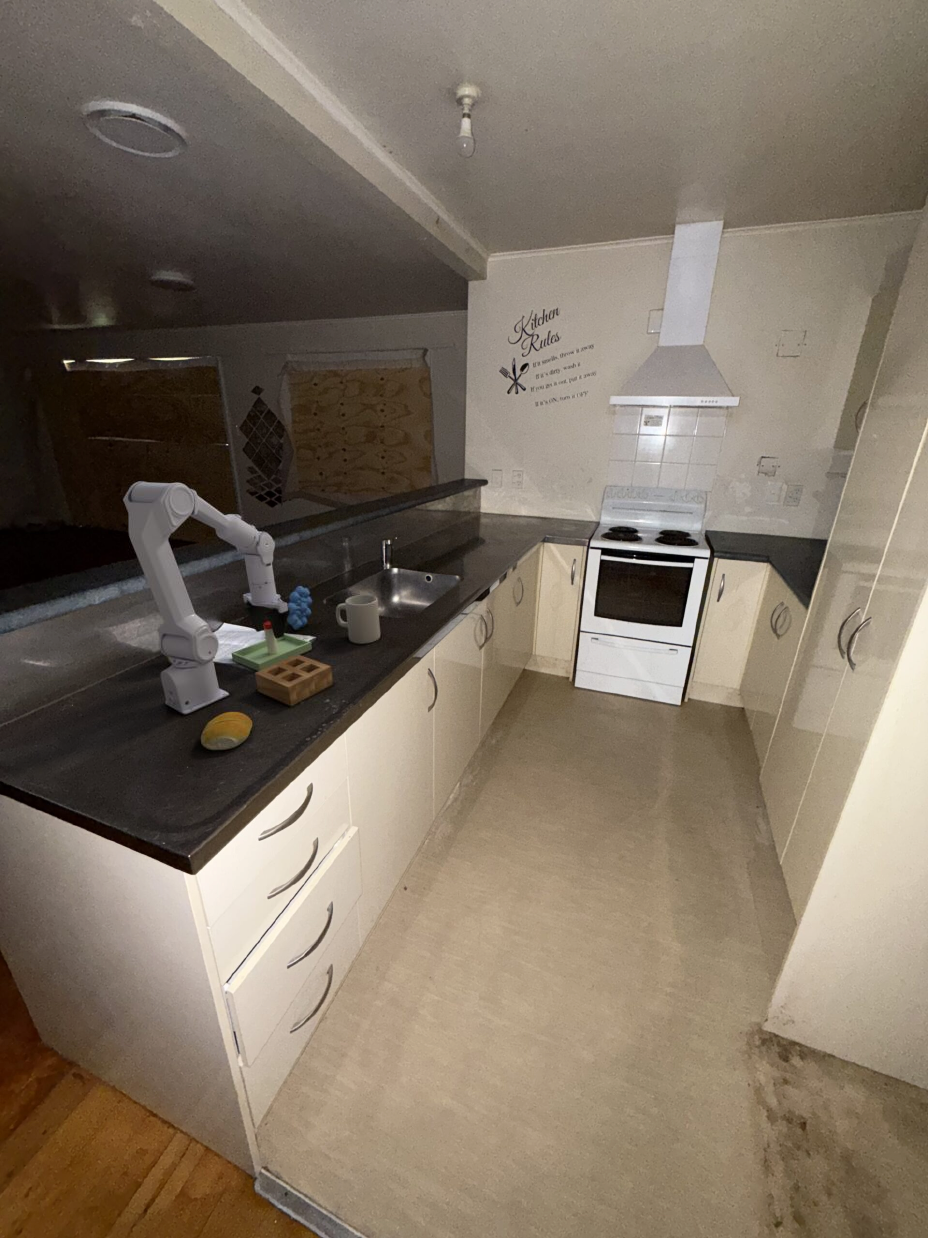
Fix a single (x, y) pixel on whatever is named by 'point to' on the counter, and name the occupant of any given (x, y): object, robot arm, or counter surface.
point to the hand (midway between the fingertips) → (269, 633)
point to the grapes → (299, 607)
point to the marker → (270, 639)
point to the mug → (361, 618)
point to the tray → (260, 658)
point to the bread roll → (226, 731)
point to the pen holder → (294, 679)
